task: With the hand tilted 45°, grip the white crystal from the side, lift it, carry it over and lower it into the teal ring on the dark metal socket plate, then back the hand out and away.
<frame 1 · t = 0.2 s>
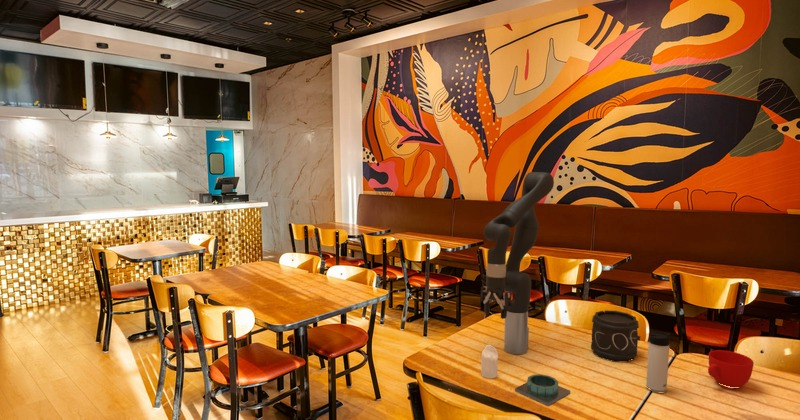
hand: (495, 315, 189), 18 cm above the table, tool pointing down, fingers open, 8 cm apart
black coffee canister: (614, 354, 197), on the table
socket plate: (542, 392, 165), on the table
travel mug: (656, 389, 167), on the table
ceramic cup: (724, 386, 169), on the table
white crystal: (489, 375, 178), on the table
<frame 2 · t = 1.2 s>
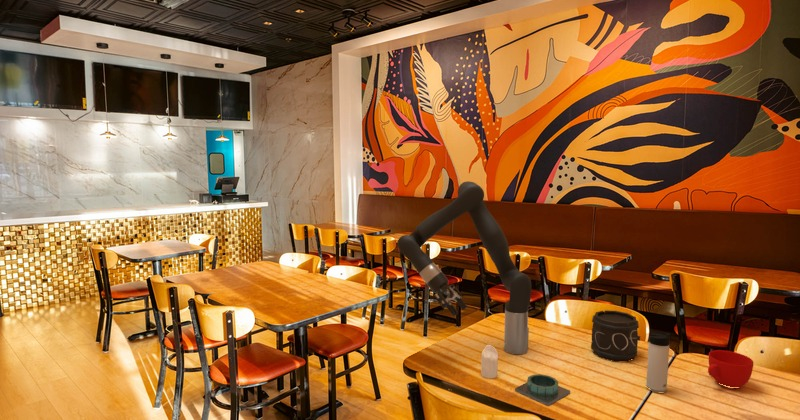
hand: (460, 311, 181), 22 cm above the table, tool tilted 45°, fingers open, 8 cm apart
nothing on the table moved.
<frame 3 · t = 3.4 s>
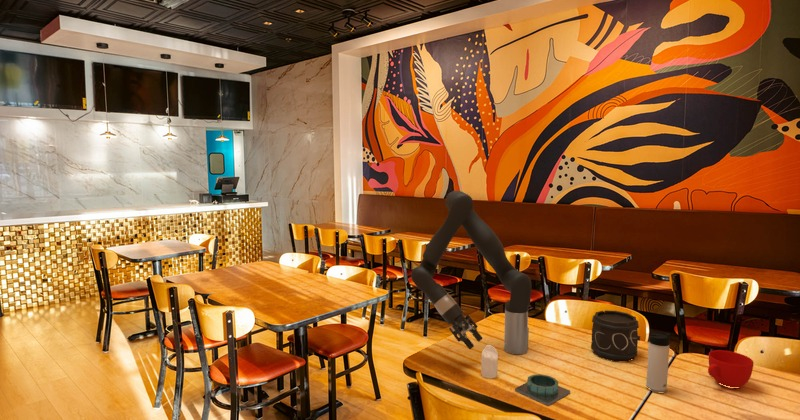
hand: (476, 343, 179), 11 cm above the table, tool tilted 45°, fingers open, 8 cm apart
nothing on the table moved.
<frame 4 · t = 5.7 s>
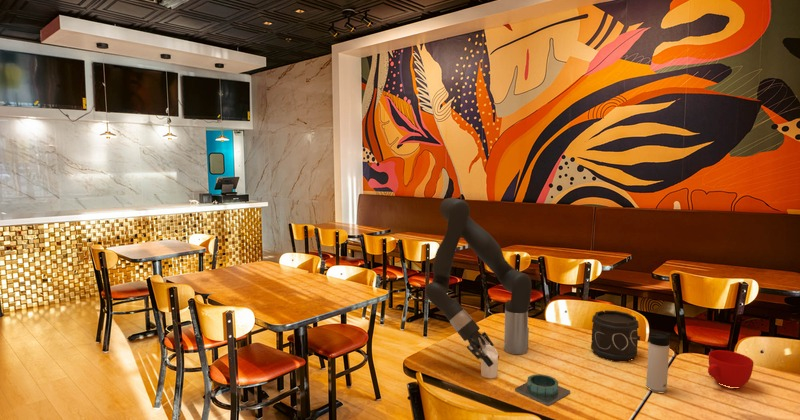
hand: (494, 362, 176), 5 cm above the table, tool tilted 45°, fingers closed on white crystal, 5 cm apart
white crystal: (489, 375, 178), on the table, touching gripper
everything else where it was.
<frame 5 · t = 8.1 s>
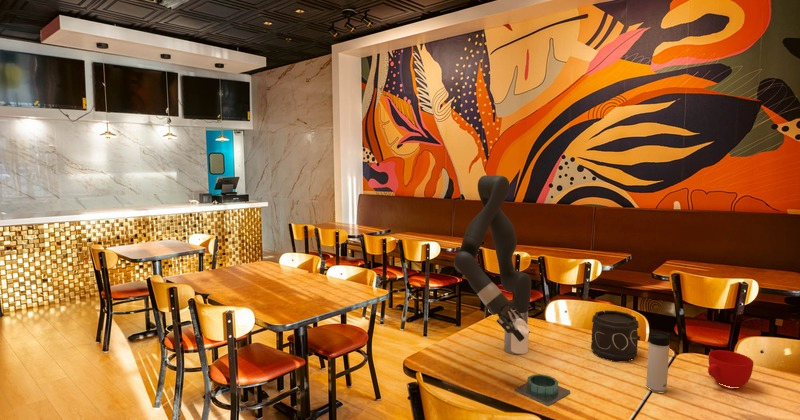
hand: (525, 336, 167), 18 cm above the table, tool tilted 45°, fingers closed on white crystal, 5 cm apart
white crystal: (519, 351, 169), point 12 cm above the table, touching gripper
everything else where it was.
when the fingers open (8 cm above the table, at t = 11.0 s): white crystal drops 2 cm, resting on socket plate.
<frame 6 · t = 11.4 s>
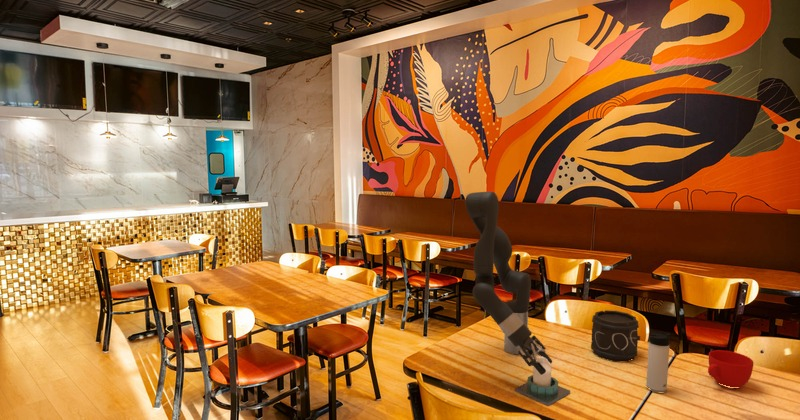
hand: (547, 368, 163), 9 cm above the table, tool tilted 45°, fingers open, 8 cm apart
white crystal: (541, 390, 165), point 1 cm above the table, touching socket plate
everything else where it was.
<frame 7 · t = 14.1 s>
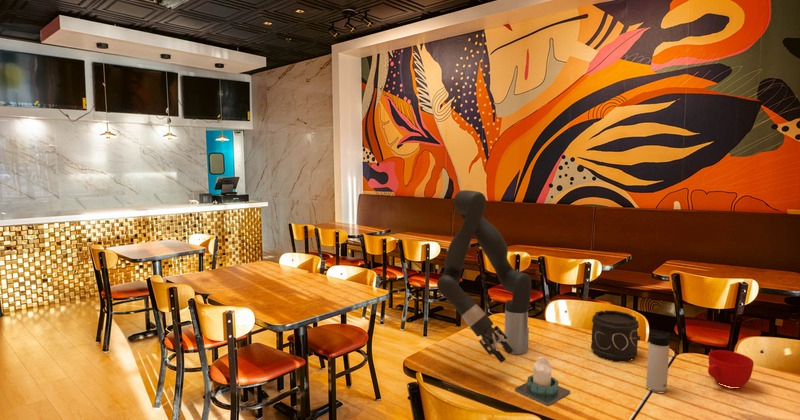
hand: (507, 356, 170), 10 cm above the table, tool tilted 45°, fingers open, 8 cm apart
nothing on the table moved.
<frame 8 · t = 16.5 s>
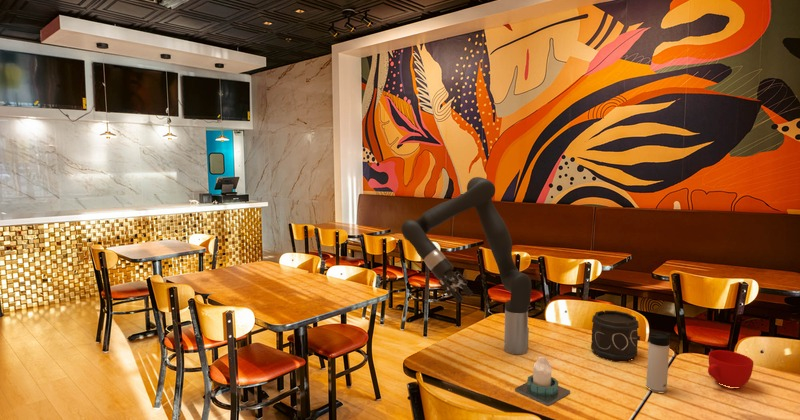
hand: (466, 298, 176), 29 cm above the table, tool tilted 45°, fingers open, 8 cm apart
nothing on the table moved.
at the end: white crystal 0.3 cm off-centre on the socket plate, point 0.8 cm above the socket plate's base; white crystal tilted 1°; the gripper is holding nothing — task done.
